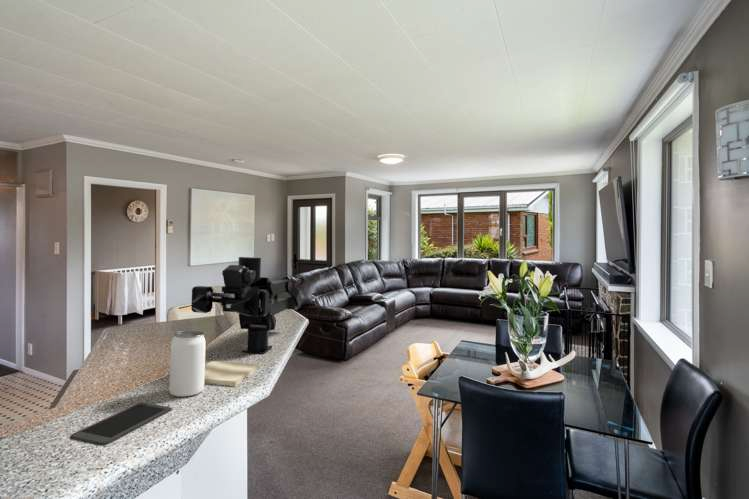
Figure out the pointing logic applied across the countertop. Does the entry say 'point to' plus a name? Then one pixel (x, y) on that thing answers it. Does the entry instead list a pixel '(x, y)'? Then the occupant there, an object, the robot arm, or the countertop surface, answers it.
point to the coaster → (228, 372)
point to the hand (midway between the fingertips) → (211, 306)
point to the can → (187, 363)
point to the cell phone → (120, 423)
